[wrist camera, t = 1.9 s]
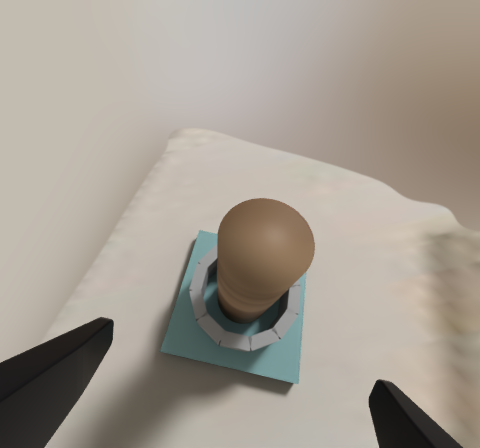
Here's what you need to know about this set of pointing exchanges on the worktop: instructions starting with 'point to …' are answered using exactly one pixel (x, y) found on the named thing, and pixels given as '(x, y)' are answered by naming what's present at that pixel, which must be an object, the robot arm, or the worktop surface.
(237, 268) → the walnut peg
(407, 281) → the worktop surface
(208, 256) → the ring stand
